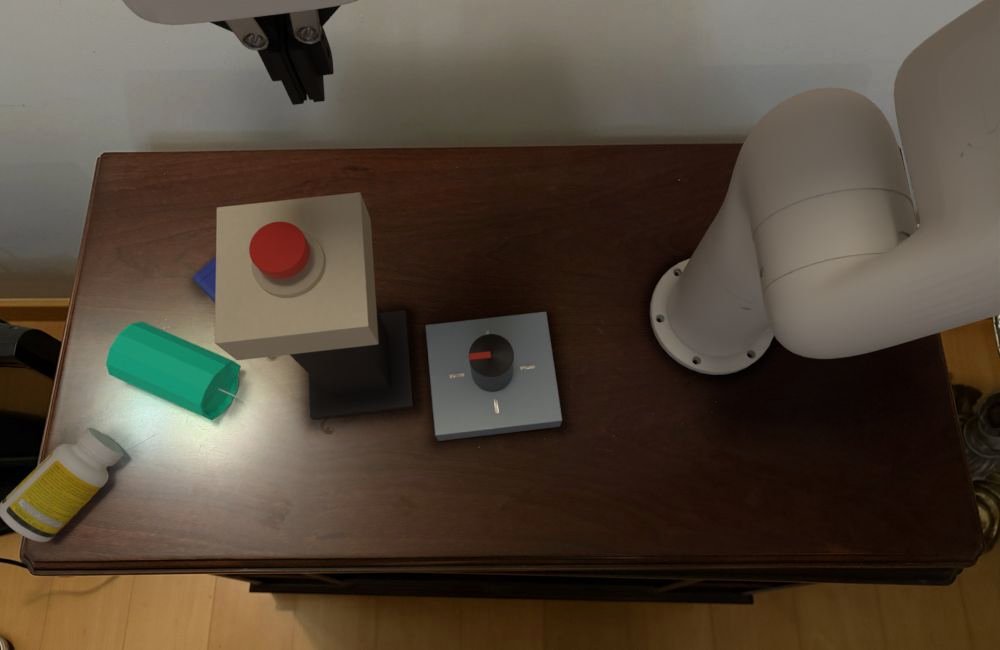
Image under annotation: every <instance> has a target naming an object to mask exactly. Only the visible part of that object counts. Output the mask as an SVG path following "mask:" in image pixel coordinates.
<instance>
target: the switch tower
mask: <svg viewBox="0 0 1000 650" xmlns="http://www.w3.org/2000/svg"><path fill="white" fill-rule="evenodd" d="M371 221H372V220H371V216H370V214H369V211H368V209H367V206H366V202H365V201H364V198H363V196H362V193H361V192H360V191H359V192H348V193H339V194H331V195H330V194H329V195H322V196H321V195H320V196H310V197H303V198H294V199H285V200H284V199H283V200H275V201H265V202H256V203H245V204H237V205H227V206H218V207H216V229H215V231H216V233H215V234H216V236H215V237H216V238H215V239H216V240H215V257H216V296H215V302H214V306H215V307H214V309H215V310H214V344H215V345H216V346H217V347H219V348H220V349H222V351H224V352H225V353H226V354H227V355H229V356H230V357H231V358H233V359H234V360H235V361H244V360H253V359H260V358H261V359H263V358H271V357H279V356H287V355H289V356H290V357H291V358H292V359H293V360H294V361H295V362H296V363H297V364H298V365H299V366H300V367H301V368H302V369H303V370H304V371H305V372H306V373H307V374H308V392H309V393H308V395H309V418H310V419H311V420H312V421H317V420H327V419H334V418H343V417H351V416H361V415H370V414H377V413H385V412H386V413H387V412H395V411H404V410H411V409H415V397H414V385H413V371H412V360H411V359H412V358H411V347H410V346H411V345H410V333H409V322H408V320H409V319H408V313H407V310H406V309H403V310H394V311H386V312H378V310H377V297H376V283H375V282H376V280H375V267H374V252H373V236H372V235H373V234H372V222H371ZM273 222H288V223H291V224H293V225H295V226H296V227H298V228H299V229H300V230H301V231H302V233H303V235H304V236H305V238H306V240H307V241H308V243H309V247H310V256H309V260H308V262H307V264H306V266H305V267H304V268H303V270H301V271H300V272H299V273H298V274H296V275H295V276H293V277H290V278H287V279H273V278H269V277H267V276H265V275H264V274H262V273H261V272H260V271H259V269H258V268H257V267H256V266H255V264H254V263H253V262H252V260H251V258H250V254H249V246H250V242H251V239H252V237H253V236H254V234H255V233H256V232H257V231H258V230H259V229H260V228H262V227H263V226H265V225H267V224H269V223H273Z"/></svg>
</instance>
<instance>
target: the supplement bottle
mask: <svg viewBox="0 0 1000 650" xmlns="http://www.w3.org/2000/svg"><path fill="white" fill-rule="evenodd" d="M123 456H124V451H123V449H122V448H121V447H120V446H119V445H118V444H117V443H116V442H115V441H114V440H112V439H111V438H110V437H109V436H108V435H106V434H105V433H103V432H101V431H100V430H98V429H96V428H93V427H88V428H86V429H85V430H84V431H83V432H82V433H81V434H80V435H79V436H78V437H77V438H76V442H75V443H74V444H73V443H63V444H60V445H58V446H56V448H55V449H53V451H51V452H50V453H49V454H48V455H47V456H46V458H45V459H43V461H41V462H40V463H39V464H38V465H37V466H36V467H35V468H34V469H33V470H32V471H31V472H30V473H29V474H28V475H27V476H26V477H25V478H24V479H23V480H21V482H20V483H19V484H18V485H17V486H16V487H15V488H14V489H12V490H11V491H10V492H9V493H8V495H6V496H5V498H4V499H2V500H1V502H0V518H1V519H2V521H3V522H4V523H5V524H6V525H7V526H8V527H9V528H10V529H12V530H13V531H14V532H16V533H17V534H19V535H20V536H23V537H24V538H27V539H29V540H31V541H34V542H39V543H47V542H49V541H51V540H52V539H53V538H54V537H55V536H56V535H57V534H58V533H59V532H61V530H62V529H63V528H64V527H65V526H66V525H67V524H68V523H69V522H70V521H71V520H72V519H73V518H74V517H75V516H76V515H77V514H78V512H80V511H81V509H82V508H84V506H86V504H87V503H89V501H90V500H91V499H92V498H93V497H94V496H96V494H97V493H98V492H99V491H100V490H101V489H102V488H103V487H104V486H105V485H106V484H107V482H108V480H109V471H108V470H107V468H109V467H113V466H114V465H115V464H116V463H117V462H118V461H119V460H120V459H121V458H122V457H123Z"/></svg>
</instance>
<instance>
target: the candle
mask: <svg viewBox="0 0 1000 650" xmlns="http://www.w3.org/2000/svg"><path fill="white" fill-rule="evenodd" d="M105 365H106V369H107V373H108V375H110V376H111V377H114V378H115V379H118V380H120V381H122V382H124V383H127V384H129V385H131V386H134V388H135V387H136V388H138V389H140V390H142V391H144V392H147V393H149V394H151V395H154V396H156V397H157V398H160V399H163V400H165V401H166V402H168V403H171V404H173V405H175V406H178V407H180V408H183V409H185V410H187V411H189V412H191V413H193V414H195V415H198V416H200V417H203V418H205V419H207V420H210V421H214V420H216V419H217V418H219V417H220V416H222V414H223V413H224V412H225V411H226V410H228V408H229V407H230V406H231V405H232V404H233V401H234V399H235V398H236V399H237V398H238V395H237V393H238V390H239V377H240V370H241V367H242V366H241V365H240V364H239V363H237V362H235V361H234V360H232V359H230V358H228V357H225V356H223V355H221V354H218V353H216V352H214V351H211V350H209V349H207V348H205V347H202V346H200V345H198V344H196V343H193V342H191V341H188V340H186V339H184V338H181V337H179V336H177V335H176V334H175V335H174V334H172V333H170V332H168V331H165V330H163V329H161V328H158V327H156V326H154V325H151V324H149V323H147V322H145V321H138V322H134V323H133V322H132V323H130V324H129V325H127V326H126V327H125V328H124V329H123V330H121V331H120V332H119V333H118V334H117V336H116V337H115V339H114V340H113V342H112V344H110V347H109V348H108V353H107V357H106V361H105Z"/></svg>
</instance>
